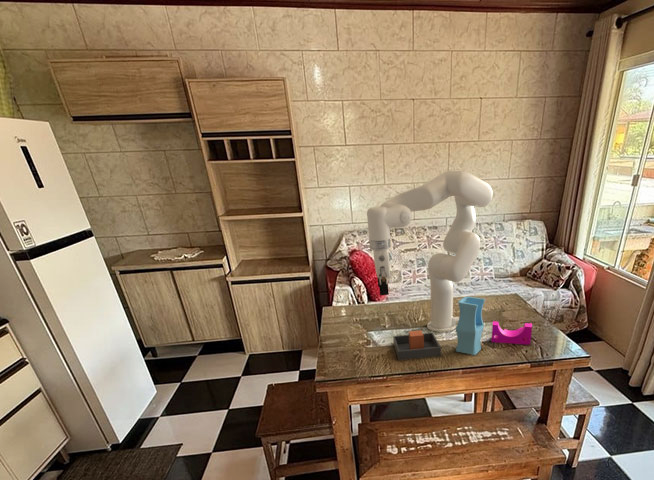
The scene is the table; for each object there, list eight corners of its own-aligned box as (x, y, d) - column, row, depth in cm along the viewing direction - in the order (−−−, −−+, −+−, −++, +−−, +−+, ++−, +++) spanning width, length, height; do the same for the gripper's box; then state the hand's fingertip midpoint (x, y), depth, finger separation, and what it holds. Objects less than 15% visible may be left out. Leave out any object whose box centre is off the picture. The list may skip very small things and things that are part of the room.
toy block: (529, 338, 165) (531, 321, 162) (530, 344, 160) (532, 327, 157) (492, 335, 169) (493, 318, 165) (491, 342, 164) (492, 324, 160)
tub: (432, 341, 166) (432, 332, 164) (440, 356, 154) (440, 347, 152) (393, 345, 164) (393, 336, 163) (398, 360, 152) (398, 351, 150)
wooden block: (421, 346, 161) (421, 330, 158) (423, 351, 157) (423, 335, 154) (409, 347, 161) (408, 331, 157) (411, 353, 157) (410, 336, 153)
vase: (474, 356, 153) (477, 305, 144) (455, 351, 157) (456, 302, 147) (482, 348, 159) (485, 298, 149) (463, 344, 163) (465, 295, 153)
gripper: (392, 248, 138) (395, 297, 146) (388, 238, 153) (391, 283, 161) (370, 250, 137) (374, 299, 146) (368, 240, 152) (372, 284, 161)
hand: (383, 290), depth 154 cm, fingers open, 9 cm apart
